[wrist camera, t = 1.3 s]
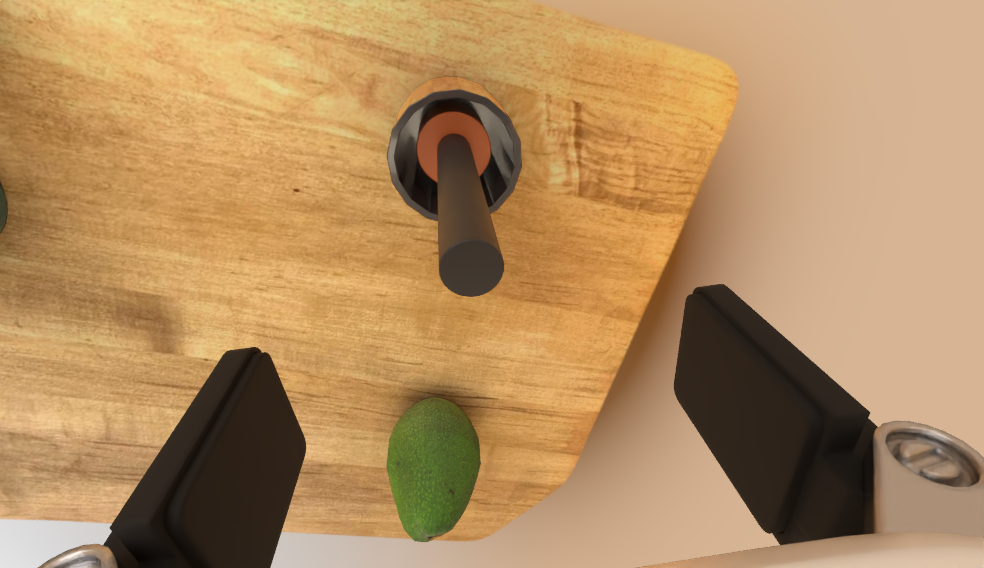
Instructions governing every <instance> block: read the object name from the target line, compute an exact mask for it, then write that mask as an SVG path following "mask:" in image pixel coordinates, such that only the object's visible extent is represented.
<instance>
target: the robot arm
mask: <svg viewBox="0 0 984 568" xmlns="http://www.w3.org/2000/svg"><path fill="white" fill-rule="evenodd" d="M678 352H679V353H678V359H677V366H676V373H675V380H674V391H675V395H676V397H677V400H678V401H679V403H680V404H681V406H682V407H683V409H684V410H685V412H686V414H687V415H688V417H689V418H690V420H691V421H692V423H693V424H694V426H695V427H696V429H697V430H698V432H699V433H700V435H701V436H702V438H703V439H704V441H705V443H706V444H707V446H708V447H709V449H710V450H711V452H712V453H713V455H714V456H715V458H716V460H717V461H718V463H719V464H720V465H721V467H722V469H723V470H724V472H725V473H726V475H727V476H728V478H729V479H730V481H731V482H732V484H733V486H734V487H735V489H736V490H737V491H738V493H739V495H740V496H741V498H742V499H743V501H744V502H745V504H746V505H747V507H748V508H749V510H750V512H751V513H752V515H753V516H754V518H755V519H756V521H757V522H758V524H759V525H760V527H761V528H762V529H763V530H764V531H765V532H767V533H769V534H770V533H773V535H774V536H775V538H776V539H777V541H778V542H779V544H780V545H779V546H772V547H764V548H758V549H752V550H744V551H738V552H732V553H726V554H719V555H713V556H707V557H700V558H694V559H688V560H682V561H675V562H669V563H663V564H657V565H650V566H644V567H638V568H984V458H983V457H982V456H981V454H980V453H979V452H977V451H976V450H975V449H973V448H972V447H970V446H969V445H968V444H966V443H965V442H964V441H962V440H960V439H958V438H956V437H955V436H953V435H951V434H948V433H947V432H945V431H942V430H939V429H937V428H934V427H931V426H928V425H925V424H920V423H915V422H910V421H892V422H888V423H884V424H882V425H881V426H879V427H877V426H876V425H875V424H874V423H873V422H872V421H871V420H870V419H868V417H869V414H870V412H869V411H868V410H867V409H866V408H865V407H863V406H862V405H861V404H860V403H859V402H858V401H857V400H855V399H854V398H853V397H852V396H851V395H850V394H849V393H847V392H846V391H845V390H844V389H843V388H842V387H841V386H839V385H838V384H837V383H836V382H835V381H834V380H833V379H831V378H830V377H829V376H828V375H827V374H826V373H825V372H824V371H822V370H821V369H820V368H819V367H818V366H817V365H816V364H814V363H813V362H812V361H811V360H810V359H809V358H808V357H806V356H805V355H804V354H803V353H802V352H801V351H799V350H798V349H797V348H796V347H795V346H794V345H793V344H792V343H791V342H790V341H788V340H787V339H786V338H785V337H784V336H783V335H782V334H780V333H779V332H778V331H777V330H776V329H775V328H773V327H772V326H771V325H770V324H769V323H768V322H767V321H766V320H764V319H763V318H762V317H761V316H760V315H759V314H758V313H757V312H755V311H754V310H753V309H752V308H751V307H750V306H749V305H747V304H746V303H745V302H744V301H743V300H741V299H740V297H738V296H737V295H736V294H735V293H734V292H733V291H732V290H730V289H729V288H728V287H727V286H725V285H724V284H718V285H710V286H703V287H697V288H695V290H694V291H693V294H691V295H688V296H687V298H686V302H685V309H684V316H683V323H682V330H681V338H680V344H679V351H678ZM305 453H306V442H305V438H304V435H303V433H302V430H301V428H300V426H299V423H298V421H297V418H296V416H295V414H294V411H293V409H292V407H291V404H290V402H289V399H288V397H287V395H286V392H285V390H284V388H283V385H282V383H281V380H280V378H279V376H278V373H277V371H276V368H275V366H274V364H273V361H272V359H271V357H270V355H269V354H268V353H266V352H264V353H262V352H261V350H260V349H258V348H256V347H251V348H244V349H237V350H230V351H227V352H226V353H225V354H224V355H223V356H222V358H221V359H220V361H219V362H218V364H217V365H216V367H215V368H214V370H213V371H212V373H211V375H210V376H209V378H208V379H207V381H206V382H205V384H204V385H203V387H202V388H201V390H200V391H199V393H198V394H197V396H196V397H195V399H194V400H193V402H192V403H191V405H190V406H189V408H188V409H187V411H186V413H185V414H184V416H183V417H182V419H181V420H180V422H179V423H178V425H177V426H176V428H175V429H174V431H173V432H172V434H171V435H170V437H169V438H168V440H167V441H166V443H165V444H164V446H163V447H162V449H161V451H160V452H159V454H158V455H157V457H156V458H155V460H154V461H153V463H152V464H151V466H150V467H149V469H148V470H147V472H146V473H145V475H144V476H143V478H142V479H141V481H140V482H139V484H138V485H137V487H136V489H135V490H134V492H133V493H132V495H131V496H130V498H129V499H128V501H127V502H126V504H125V505H124V507H123V508H122V510H121V511H120V513H119V514H118V516H117V517H116V519H115V520H114V522H113V523H112V525H111V527H110V529H111V530H112V532H111V534H110V535H109V537H108V538H107V540H106V542H105V543H104V545H100V544H90V545H82V546H79V547H76V548H73V549H70V550H67V551H65V552H63V553H62V554H59V555H58V556H56V557H54V558H52V559H50V560H48V561H47V562H45V563H44V564H42V565H41V566H40V567H38V568H270V567H271V563H272V560H273V557H274V554H275V551H276V547H277V544H278V541H279V538H280V534H281V531H282V528H283V525H284V522H285V518H286V515H287V512H288V509H289V505H290V502H291V499H292V496H293V493H294V489H295V486H296V483H297V480H298V476H299V473H300V470H301V467H302V463H303V460H304V457H305Z"/></svg>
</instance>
